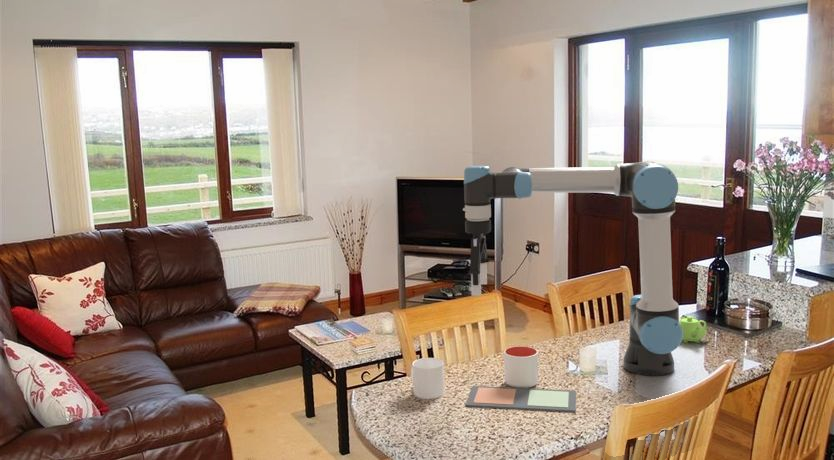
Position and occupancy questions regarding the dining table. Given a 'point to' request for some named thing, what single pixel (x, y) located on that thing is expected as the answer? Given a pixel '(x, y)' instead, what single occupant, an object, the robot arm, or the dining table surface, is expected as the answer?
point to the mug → (428, 378)
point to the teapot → (692, 329)
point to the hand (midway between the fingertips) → (479, 289)
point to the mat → (522, 398)
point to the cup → (521, 366)
